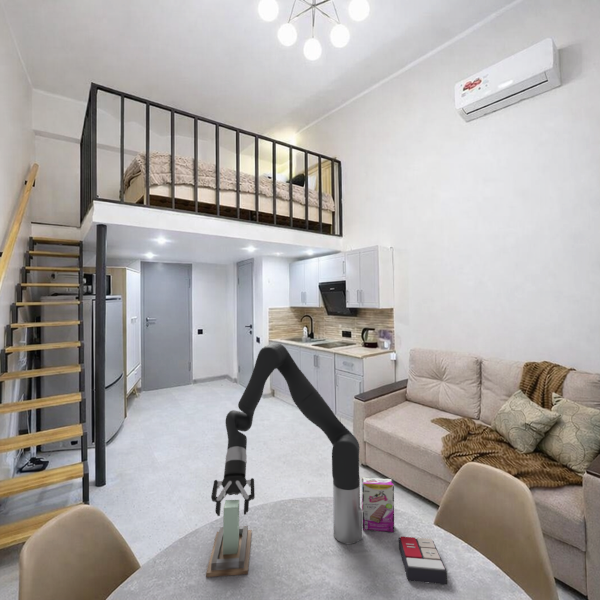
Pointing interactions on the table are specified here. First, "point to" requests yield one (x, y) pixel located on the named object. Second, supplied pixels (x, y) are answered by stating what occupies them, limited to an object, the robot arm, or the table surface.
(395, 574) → the table surface
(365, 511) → the candy bar box
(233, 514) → the pale green angular block
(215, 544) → the track
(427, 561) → the calculator
